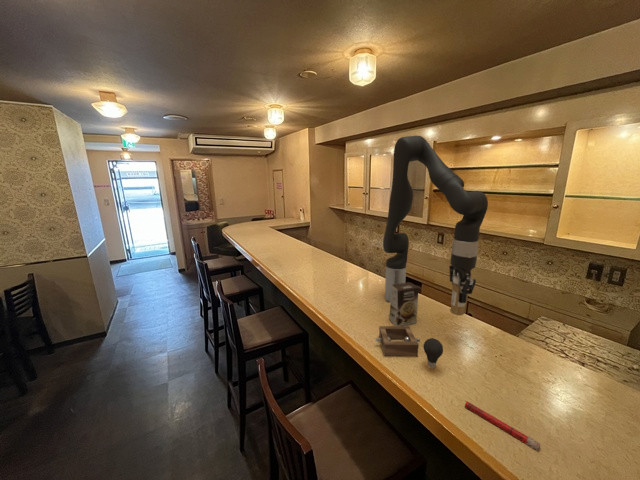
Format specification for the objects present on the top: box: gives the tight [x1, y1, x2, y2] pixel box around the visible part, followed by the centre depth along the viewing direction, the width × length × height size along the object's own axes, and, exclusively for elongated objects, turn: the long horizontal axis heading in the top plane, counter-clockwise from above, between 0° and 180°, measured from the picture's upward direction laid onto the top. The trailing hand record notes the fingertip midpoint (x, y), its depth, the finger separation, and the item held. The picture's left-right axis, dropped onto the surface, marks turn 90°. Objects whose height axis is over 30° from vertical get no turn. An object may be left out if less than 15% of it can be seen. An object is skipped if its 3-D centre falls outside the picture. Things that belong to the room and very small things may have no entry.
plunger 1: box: [375, 337, 392, 343], centre depth 92 cm, size 2×5×2 cm, turn 87°
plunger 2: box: [403, 336, 421, 343], centre depth 91 cm, size 2×5×2 cm, turn 87°
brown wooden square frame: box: [378, 325, 419, 358], centre depth 92 cm, size 11×11×5 cm
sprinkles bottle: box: [449, 276, 466, 316], centre depth 90 cm, size 5×5×13 cm
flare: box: [464, 401, 541, 452], centre depth 62 cm, size 2×15×2 cm, turn 41°
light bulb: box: [423, 337, 444, 369], centre depth 80 cm, size 6×6×10 cm
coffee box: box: [388, 281, 420, 326], centre depth 105 cm, size 9×6×16 cm
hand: (458, 298), depth 90 cm, fingers closed on sprinkles bottle, 4 cm apart
